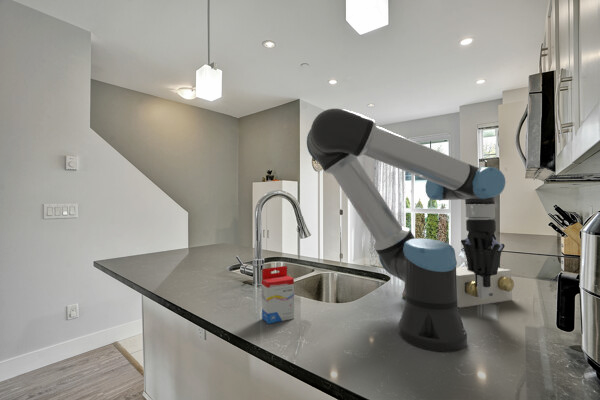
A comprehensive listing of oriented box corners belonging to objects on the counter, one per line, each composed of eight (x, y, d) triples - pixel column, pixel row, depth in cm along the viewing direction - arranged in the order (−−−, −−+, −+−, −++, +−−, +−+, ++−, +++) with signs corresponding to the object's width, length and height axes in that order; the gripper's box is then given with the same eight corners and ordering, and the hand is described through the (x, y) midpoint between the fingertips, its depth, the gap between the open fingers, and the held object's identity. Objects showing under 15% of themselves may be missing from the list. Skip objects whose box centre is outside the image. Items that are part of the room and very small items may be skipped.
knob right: (503, 292, 89) (503, 278, 89) (479, 284, 98) (478, 272, 98) (514, 290, 90) (513, 277, 90) (488, 283, 99) (488, 271, 99)
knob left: (472, 297, 84) (471, 283, 85) (448, 289, 93) (448, 276, 93) (483, 296, 86) (482, 282, 86) (459, 288, 94) (458, 275, 94)
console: (460, 307, 87) (458, 275, 87) (438, 298, 95) (437, 269, 96) (512, 300, 93) (511, 270, 93) (487, 292, 101) (486, 264, 102)
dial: (474, 271, 92) (473, 263, 92) (464, 269, 96) (464, 261, 96) (482, 270, 93) (482, 262, 93) (473, 268, 97) (472, 260, 97)
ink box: (267, 324, 77) (266, 271, 77) (261, 318, 81) (260, 268, 82) (295, 318, 81) (294, 268, 81) (287, 313, 85) (287, 265, 86)
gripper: (511, 219, 79) (514, 302, 78) (471, 217, 91) (474, 289, 91) (490, 219, 77) (493, 305, 76) (453, 218, 89) (455, 291, 89)
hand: (483, 296), depth 83 cm, fingers closed
